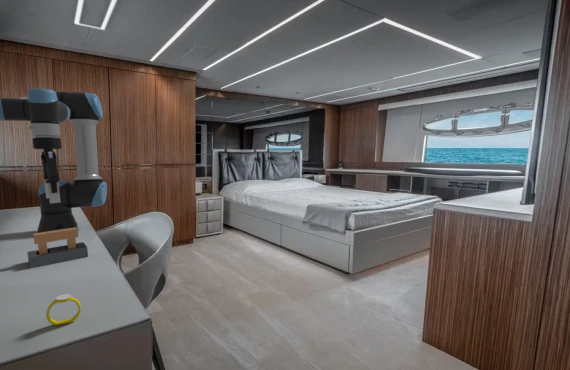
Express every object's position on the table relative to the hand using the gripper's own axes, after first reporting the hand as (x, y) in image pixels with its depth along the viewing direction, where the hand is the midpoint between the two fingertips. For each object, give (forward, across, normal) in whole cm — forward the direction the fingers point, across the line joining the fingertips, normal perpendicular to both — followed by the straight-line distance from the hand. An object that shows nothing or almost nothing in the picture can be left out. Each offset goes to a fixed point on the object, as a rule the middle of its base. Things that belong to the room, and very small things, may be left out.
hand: (53, 200), depth 104 cm
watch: (+21, +50, -4) cm, 54 cm away
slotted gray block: (+21, +1, 0) cm, 21 cm away
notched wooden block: (+21, +1, 0) cm, 21 cm away
